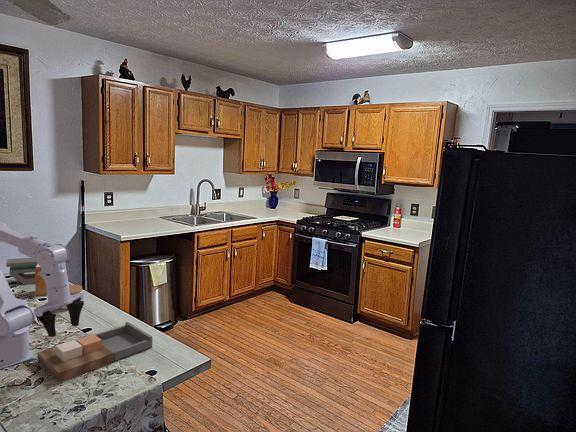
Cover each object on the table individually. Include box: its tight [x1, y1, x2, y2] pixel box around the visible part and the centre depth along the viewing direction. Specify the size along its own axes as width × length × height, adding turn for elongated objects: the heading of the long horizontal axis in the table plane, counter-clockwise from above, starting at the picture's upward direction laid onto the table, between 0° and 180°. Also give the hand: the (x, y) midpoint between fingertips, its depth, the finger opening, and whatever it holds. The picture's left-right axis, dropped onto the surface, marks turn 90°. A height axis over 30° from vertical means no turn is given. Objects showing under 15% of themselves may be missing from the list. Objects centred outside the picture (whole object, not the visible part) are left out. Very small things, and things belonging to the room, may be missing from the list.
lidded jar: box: [59, 284, 83, 310], centre depth 160 cm, size 11×11×9 cm
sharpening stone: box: [5, 257, 70, 286], centre depth 185 cm, size 25×8×11 cm, turn 123°
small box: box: [34, 265, 47, 296], centre depth 172 cm, size 8×6×13 cm
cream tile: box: [55, 339, 82, 362], centre depth 118 cm, size 6×6×3 cm
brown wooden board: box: [36, 339, 115, 383], centre depth 120 cm, size 16×16×3 cm
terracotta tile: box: [75, 333, 102, 354], centre depth 123 cm, size 6×6×3 cm
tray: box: [94, 321, 153, 363], centre depth 132 cm, size 13×16×4 cm
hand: (64, 330), depth 114 cm, fingers open, 7 cm apart
